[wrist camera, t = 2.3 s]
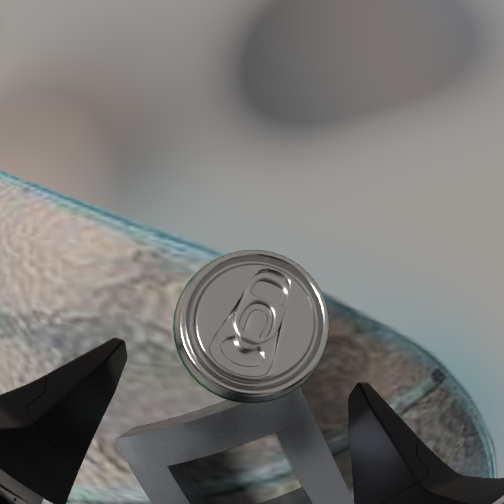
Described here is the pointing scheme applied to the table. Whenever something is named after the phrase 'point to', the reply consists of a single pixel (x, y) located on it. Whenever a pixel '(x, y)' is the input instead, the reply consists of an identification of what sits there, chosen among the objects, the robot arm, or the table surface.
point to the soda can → (251, 326)
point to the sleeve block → (227, 437)
